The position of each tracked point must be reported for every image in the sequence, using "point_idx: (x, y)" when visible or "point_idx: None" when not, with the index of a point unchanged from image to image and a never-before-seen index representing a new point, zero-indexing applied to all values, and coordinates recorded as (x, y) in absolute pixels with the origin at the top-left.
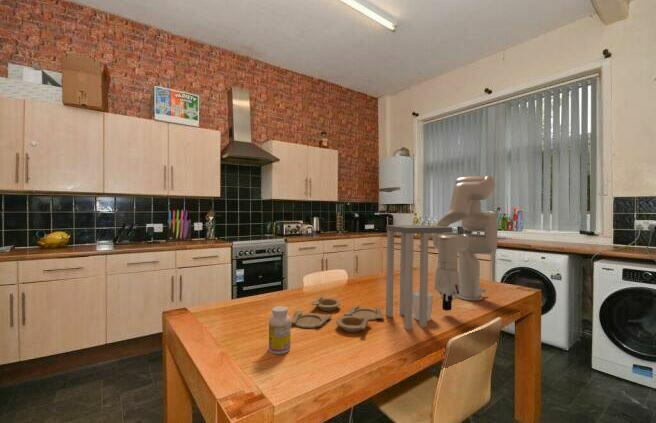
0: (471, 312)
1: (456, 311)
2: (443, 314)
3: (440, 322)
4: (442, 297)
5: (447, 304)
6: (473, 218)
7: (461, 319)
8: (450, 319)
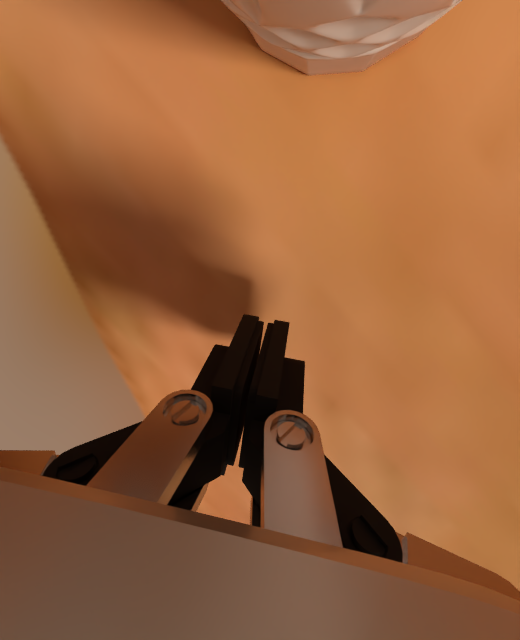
0: (237, 487)
1: None
2: (298, 312)
3: (131, 85)
4: (293, 443)
5: (210, 373)
6: None
7: (152, 344)
8: (176, 266)
